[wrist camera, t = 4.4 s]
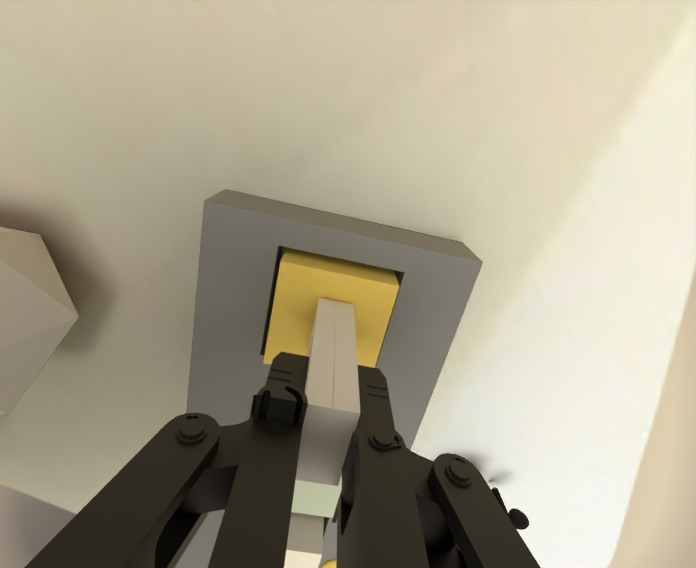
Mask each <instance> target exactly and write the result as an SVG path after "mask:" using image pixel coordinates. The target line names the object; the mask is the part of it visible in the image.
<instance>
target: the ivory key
mask: <svg viewBox="0 0 696 568" xmlns="http://www.w3.org/2000/svg"><path fill="white" fill-rule="evenodd" d="M323 526H324V517H323V516H316V515H309V514H302V513H295V512H291V518H290V526H289V533H288V541H287V548H286V556H285V564H284V568H318V566H319V563H320V560H321V557H322V547H323Z"/></svg>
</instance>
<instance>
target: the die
mask: <svg viewBox="0 0 696 568" xmlns="http://www.w3.org/2000/svg"><path fill="white" fill-rule="evenodd" d="M78 318H79V316H78V314H77V311H76V309H75V307H74V305H73V303H72V301H71V299H70V297H69V294H68V292H67V290H66V288H65V286H64V284H63V282H62V280H61V278H60V275H59V273H58V271H57V269H56V267H55V265H54V263H53V261H52V258H51V256H50V254H49V252H48V250H47V248H46V246H45V244H44V242H43V239H42V237H41V235H40V234H36V233H31V232H25V231H20V230H15V229H10V228H4V227H0V415H5V414H9V413H10V411H11V410H12V409H13V407H14V406H15V405H16V403H17V402H18V400H19V399H20V398H21V396H22V395H23V394H24V392H25V391H26V389H27V388H28V387H29V385H30V384H31V382H32V381H33V380H34V378H35V377H36V376H37V374H38V373H39V371H40V370H41V369H42V367H43V366H44V364H45V363H46V362H47V360H48V359H49V358H50V356H51V355H52V353H53V352H54V351H55V349H56V348H57V347H58V345H59V344H60V342H61V341H62V340H63V338H64V337H65V335H66V334H67V333H68V331H69V330H70V329H71V327H72V326H73V324H74V323H75V322H76V320H77V319H78Z"/></svg>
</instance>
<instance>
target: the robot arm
mask: <svg viewBox="0 0 696 568" xmlns="http://www.w3.org/2000/svg"><path fill="white" fill-rule="evenodd" d="M341 475H342V489H341V493H340V496H339V499H338V502H337V505H336V509H335V512H334V515H333V519H332V523H336V520H337V563H336V568H540V566H539V565H538V563H537V561H536V560H535V558H534V557H533V555H532V554H531V552H530V550H529V549H528V547H527V546H526V544H525V543H524V541H523V539H522V538H521V536H520V535H519V533H518V532H517V530H516V528H515V527H514V525H513V524H512V522H511V521H510V519H509V517H508V516H507V514H506V513H505V511H504V510H503V508H502V506H501V505H500V503H499V502H498V500H497V499H496V497H495V496H494V494H493V492H492V491H491V489H490V488H489V486H488V485H487V483H486V481H485V480H484V478H483V477H482V475H481V474H480V472H479V471H478V470H477V469H476V467H475V466H474V465H473V464H472V463H470V462H469V461H468V460H466V459H465V458H463V457H460V456H458V455H456V454H449V453H446V454H442V455H439V456H438V457H437V458H436V459H435V461H434V462H433V461H431V460H428V459H426V458H424V457H422V456H419V455H417V454H416V453H414V452H412V451H410V450H409V449H408V448H406V445H405V442H404V440H403V438H402V436H401V435H400V434H399V433H398V432H397V431H396V430H395V426H394V420H393V415H392V409H391V403H390V399H389V391H388V385H387V380H386V378H385V376H384V375H383V373H382V372H381V371H380V369H378V368H373V367H367V366H362V365H357V349H356V333H355V316H354V305H353V304H348V303H343V302H338V301H333V300H328V299H323V298H319V300H318V305H317V310H316V314H315V319H314V323H313V328H312V332H311V337H310V341H309V346H308V350H307V356H303V355H298V354H292V353H287V352H280V353H279V354H278V355H277V356H276V357H275V358H273V361H272V364H271V367H270V371H269V374H268V377H267V381H266V384H265V386H264V387H262V388H261V389H260V390H259V392H258V394H257V397H256V403H255V408H254V414H253V416H252V417H251V418H250V419H248V420H247V421H245V422H242V423H240V424H235V425H228V426H220V425H219V424H218V423H217V421H216V420H215V419H214V418H212V417H211V416H209V415H207V414H202V413H186V414H183V415H180V416H177V417H175V418H174V419H172V420H171V421H170V422H168V423H167V424H166V425H165V426H164V427H163V428H162V429H161V430H160V431H159V432H158V433H157V434H156V435H155V436H154V437H153V438H152V439H151V440H150V441H149V442H148V443H147V444H146V445H145V446H144V447H143V448H142V449H141V450H140V451H139V452H138V453H137V454H136V455H135V456H134V457H133V458H132V459H131V460H130V461H129V462H128V463H127V464H126V465H125V466H124V467H123V468H122V469H121V470H120V471H119V472H118V474H117V475H116V476H115V477H114V478H113V479H112V480H111V481H110V482H109V483H108V484H107V485H106V486H105V487H104V488H103V489H102V490H101V491H100V492H99V493H98V494H97V495H96V496H95V497H94V498H93V499H92V500H91V501H90V502H89V503H88V504H87V505H86V506H85V507H84V508H83V509H82V510H81V511H80V512H79V513H78V514H77V515H76V516H75V517H74V518H73V519H72V520H71V521H70V522H69V523H68V524H67V525H66V526H65V527H64V528H63V529H62V530H61V531H60V532H59V533H58V534H57V535H56V536H55V537H54V538H53V539H52V540H51V542H49V543H48V545H46V546H45V547H44V548H43V549H42V550H41V551H40V552H39V553H38V554H37V556H35V558H34V559H32V560H31V561H30V563H29V564H28V565H27V566H26V567H25V568H175V566H176V564H177V563H178V561H179V560H180V558H181V556H182V555H183V553H184V552H185V550H186V549H187V547H188V545H189V544H190V542H191V541H192V539H193V537H194V536H195V534H196V533H197V531H198V529H199V528H200V526H201V525H202V523H203V522H204V520H205V518H206V517H207V515H208V512H212V511H218V510H224V509H225V512H224V515H223V518H222V522H221V525H220V528H219V532H218V535H217V538H216V541H215V545H214V548H213V551H212V555H211V558H210V561H209V564H208V568H284V564H285V556H286V548H287V541H288V533H289V526H290V518H291V510H292V503H293V495H294V487H295V480H300V481H307V482H313V483H320V484H326V485H333V486H338V485H339V482H340V479H341Z"/></svg>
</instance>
